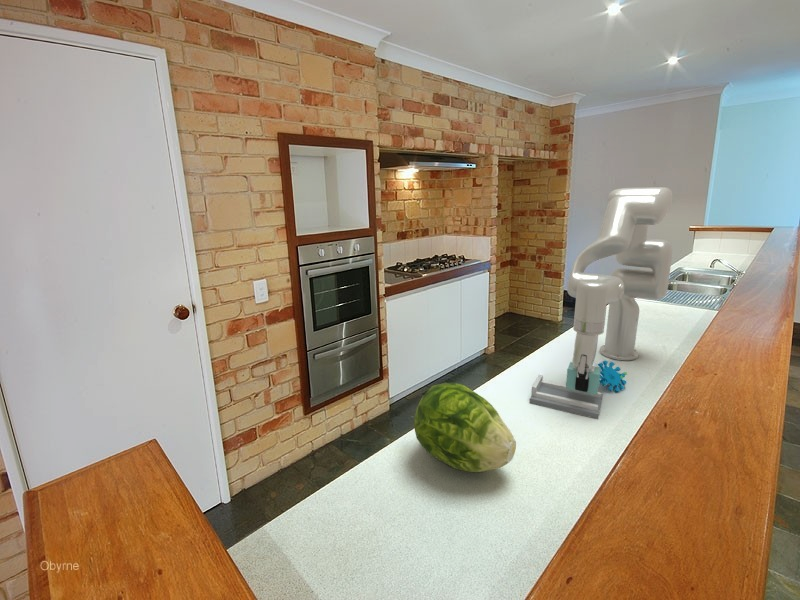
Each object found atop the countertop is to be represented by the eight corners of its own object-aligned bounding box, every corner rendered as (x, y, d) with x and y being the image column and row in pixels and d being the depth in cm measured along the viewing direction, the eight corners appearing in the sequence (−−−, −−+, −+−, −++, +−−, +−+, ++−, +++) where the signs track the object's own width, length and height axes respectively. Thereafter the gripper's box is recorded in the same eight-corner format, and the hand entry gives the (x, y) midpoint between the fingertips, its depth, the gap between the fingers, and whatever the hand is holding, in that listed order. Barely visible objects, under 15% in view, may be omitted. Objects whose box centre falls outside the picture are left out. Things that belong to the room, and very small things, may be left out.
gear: (606, 391, 117) (594, 359, 122) (593, 397, 122) (581, 367, 127) (635, 390, 121) (622, 359, 125) (621, 396, 125) (609, 366, 130)
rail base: (539, 385, 126) (539, 372, 125) (602, 398, 117) (604, 384, 116) (529, 403, 116) (530, 389, 115) (598, 419, 107) (599, 404, 106)
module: (568, 380, 117) (570, 360, 115) (598, 387, 113) (601, 366, 111) (565, 388, 113) (567, 367, 111) (596, 394, 109) (599, 373, 107)
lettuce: (492, 510, 79) (495, 427, 74) (399, 463, 93) (396, 392, 88) (527, 460, 92) (532, 388, 87) (442, 426, 106) (441, 362, 101)
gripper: (578, 314, 117) (573, 371, 122) (568, 333, 103) (563, 396, 108) (607, 318, 113) (600, 376, 118) (600, 337, 99) (593, 403, 104)
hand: (582, 385), depth 113 cm, fingers closed on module, 5 cm apart
